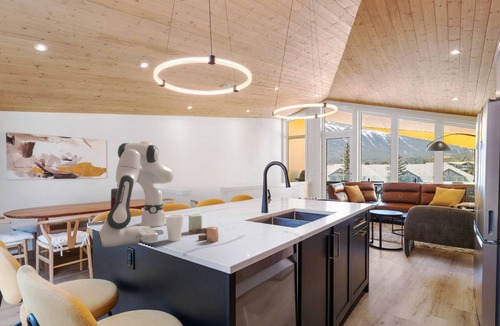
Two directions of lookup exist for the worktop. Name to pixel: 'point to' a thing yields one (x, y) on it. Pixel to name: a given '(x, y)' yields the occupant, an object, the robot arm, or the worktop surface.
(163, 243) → the worktop surface
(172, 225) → the foam cup
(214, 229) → the orange-brown cylindrical block
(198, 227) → the sage tin
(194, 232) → the bay
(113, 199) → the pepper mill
